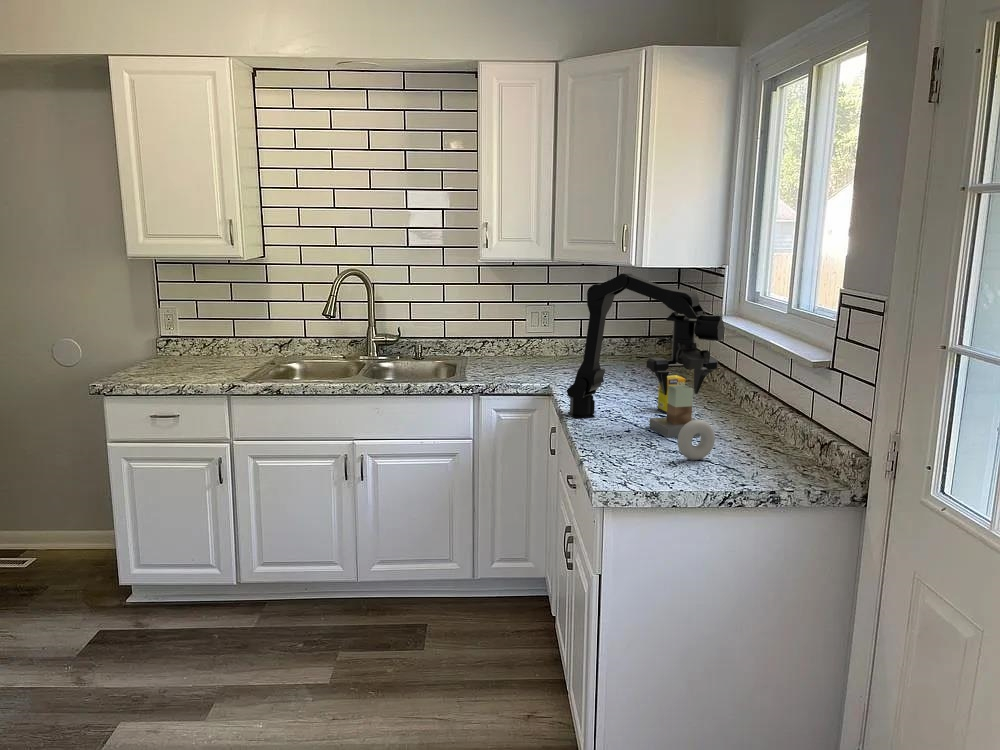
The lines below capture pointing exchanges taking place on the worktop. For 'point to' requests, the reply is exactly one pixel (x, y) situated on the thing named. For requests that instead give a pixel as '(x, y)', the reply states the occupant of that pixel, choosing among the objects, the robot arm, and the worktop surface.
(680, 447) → the donut
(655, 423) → the block
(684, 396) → the sage block
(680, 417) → the walnut block
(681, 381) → the supplement box
